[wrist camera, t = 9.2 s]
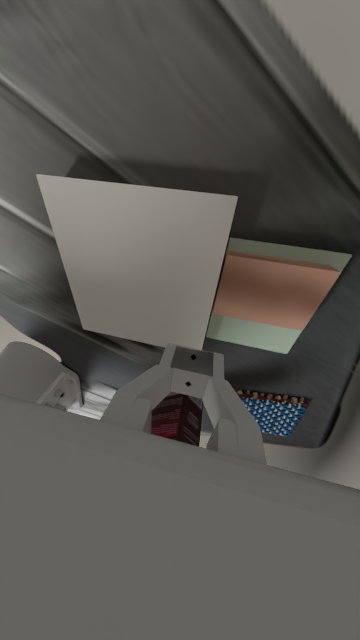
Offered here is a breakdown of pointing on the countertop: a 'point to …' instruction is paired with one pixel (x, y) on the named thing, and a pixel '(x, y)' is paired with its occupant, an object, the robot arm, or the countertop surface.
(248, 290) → the terracotta flat block
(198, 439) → the supplement box
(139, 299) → the pale grey square slab
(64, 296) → the countertop surface
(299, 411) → the woven mat
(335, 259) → the mat
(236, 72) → the countertop surface
